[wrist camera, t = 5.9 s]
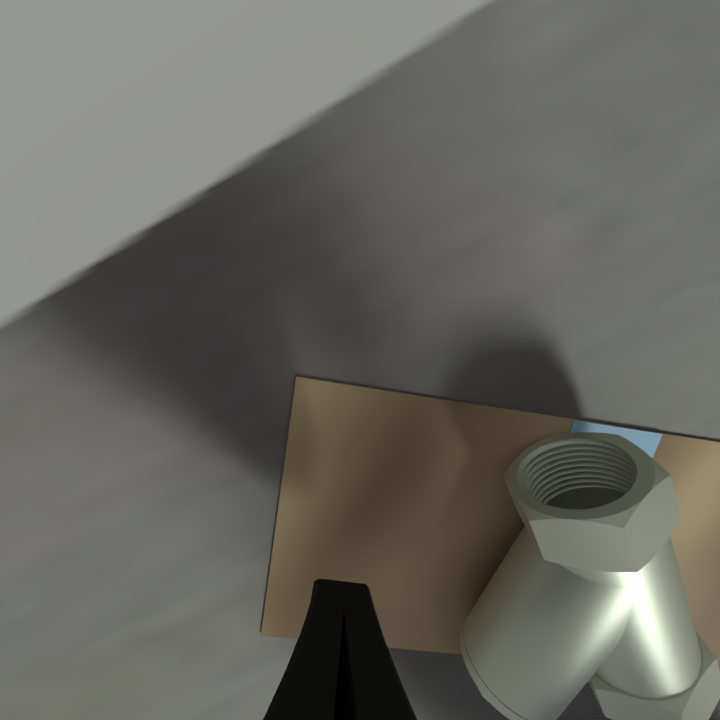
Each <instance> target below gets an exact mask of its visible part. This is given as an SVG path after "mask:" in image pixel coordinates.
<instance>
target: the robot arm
mask: <svg viewBox="0 0 720 720" xmlns="http://www.w3.org/2000/svg"><path fill="white" fill-rule="evenodd" d="M263 720H417V718H416V716H415V714H414V712H413V709H412V707H411V705H410V703H409V700H408V698H407V695H406V693H405V691H404V688H403V686H402V683H401V681H400V678H399V676H398V673H397V671H396V668H395V666H394V663H393V660H392V658H391V655H390V653H389V650H388V647H387V644H386V642H385V639H384V636H383V633H382V630H381V627H380V624H379V621H378V618H377V614H376V611H375V608H374V604H373V601H372V597H371V593H370V589H369V587H368V586H367V585H366V584H362V583H354V582H345V581H337V580H328V579H317V580H316V581H314V584H313V590H312V595H311V601H310V605H309V608H308V612H307V615H306V618H305V621H304V624H303V627H302V630H301V633H300V636H299V638H298V641H297V643H296V646H295V648H294V651H293V653H292V656H291V659H290V661H289V664H288V666H287V668H286V671H285V673H284V675H283V678H282V680H281V682H280V684H279V686H278V689H277V691H276V693H275V695H274V697H273V700H272V702H271V704H270V706H269V708H268V711H267V713H266V715H265V717H264V719H263Z"/></svg>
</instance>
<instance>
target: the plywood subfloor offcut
mask: <svg viewBox="0 0 720 720" xmlns="http://www.w3.org/2000/svg"><path fill="white" fill-rule="evenodd" d="M576 432H598V433H609V434H618V435H620V436H622V437H624V438H626V439H627V440H629V441H631V442H632V443H633V444H635V445H636V446H638V447H639V448H641V449H642V450H643V451H644V452H646V453H647V454H648V455H649V456H650V457H652V458H653V459H654V460H655V461H656V462H657V463H658V464H659V465H660V466H661V467H663V468H664V469H665V470H666V471H667V472H668V473H669V474H670V475H671V479H672V483H673V487H674V491H675V495H676V499H677V503H678V507H679V511H680V515H681V519H680V520H679V522H678V524H677V526H676V527H675V529H674V531H673V533H672V534H671V536H670V538H671V541H672V545H673V549H674V552H675V556H676V560H677V563H678V567H679V571H680V575H681V578H682V582H683V586H684V589H685V593H686V597H687V601H688V605H689V609H690V612H691V616H692V620H693V624H694V628H695V631H696V632H697V633H698V635H699V636H700V637H701V638H702V640H703V641H704V642H705V644H706V645H707V646H708V648H709V649H710V650H711V652H712V653H713V654H714V655H715V657H716V658H717V662H718V666H719V670H720V441H714V440H707V439H701V438H695V437H688V436H682V435H675V434H669V433H662V432H656V431H649V430H643V429H636V428H630V427H623V426H617V425H610V424H604V423H598V422H591V421H585V420H578V419H572V418H565V417H559V416H552V415H546V414H539V413H533V412H526V411H520V410H513V409H507V408H501V407H494V406H488V405H481V404H475V403H468V402H462V401H455V400H449V399H442V398H436V397H429V396H423V395H416V394H410V393H404V392H397V391H391V390H384V389H378V388H371V387H365V386H358V385H352V384H345V383H339V382H332V381H326V380H320V379H313V378H307V377H300V376H296V381H295V389H294V396H293V403H292V411H291V418H290V425H289V433H288V440H287V447H286V454H285V462H284V469H283V476H282V484H281V491H280V498H279V505H278V513H277V520H276V527H275V535H274V542H273V549H272V556H271V564H270V571H269V578H268V586H267V593H266V600H265V608H264V615H263V622H262V629H261V635H264V636H275V637H285V638H295V639H298V638H299V636H300V633H301V630H302V627H303V624H304V621H305V618H306V615H307V612H308V608H309V605H310V601H311V595H312V590H313V584H314V581H316V580H317V579H328V580H337V581H345V582H354V583H362V584H366V585H367V586H368V587H369V589H370V593H371V597H372V601H373V604H374V608H375V611H376V614H377V618H378V621H379V624H380V627H381V630H382V633H383V636H384V639H385V642H386V644H387V647H388V648H397V649H407V650H417V651H428V652H438V653H448V654H458V655H462V653H461V648H460V630H461V627H462V624H463V623H464V621H465V619H466V618H467V616H468V615H469V613H470V612H471V610H472V608H473V607H474V605H475V604H476V602H477V600H478V599H479V597H480V596H481V594H482V592H483V591H484V589H485V588H486V586H487V584H488V583H489V581H490V580H491V578H492V576H493V575H494V573H495V572H496V570H497V568H498V567H499V565H500V564H501V562H502V560H503V559H504V557H505V556H506V554H507V553H508V551H509V549H510V548H511V546H512V545H513V543H514V542H515V540H516V538H517V537H518V535H519V534H520V532H521V530H522V529H523V527H524V526H525V525H524V523H523V521H522V519H521V517H520V515H519V513H518V511H517V509H516V507H515V505H514V502H513V500H512V497H511V494H510V492H509V489H508V487H507V484H506V482H505V479H504V477H503V473H504V472H505V471H506V470H507V468H508V467H509V466H510V464H511V463H512V462H513V461H514V460H515V459H516V458H517V457H518V456H519V455H520V454H521V453H522V452H523V451H524V450H526V449H527V448H528V447H530V446H531V445H533V444H534V443H536V442H538V441H540V440H542V439H544V438H547V437H551V436H555V435H560V434H567V433H576Z"/></svg>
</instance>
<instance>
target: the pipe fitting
mask: <svg viewBox="0 0 720 720" xmlns="http://www.w3.org/2000/svg"><path fill="white" fill-rule="evenodd" d="M503 477H504V479H505V482H506V484H507V487H508V489H509V492H510V494H511V497H512V500H513V502H514V505H515V507H516V509H517V511H518V513H519V515H520V517H521V519H522V521H523V523H524V525H525V526H524V527H523V529H522V530H521V532H520V534H519V535H518V537H517V538H516V540H515V542H514V543H513V545H512V546H511V548H510V549H509V551H508V553H507V554H506V556H505V557H504V559H503V560H502V562H501V564H500V565H499V567H498V568H497V570H496V572H495V573H494V575H493V576H492V578H491V580H490V581H489V583H488V584H487V586H486V588H485V589H484V591H483V592H482V594H481V596H480V597H479V599H478V600H477V602H476V604H475V605H474V607H473V608H472V610H471V612H470V613H469V615H468V616H467V618H466V619H465V621H464V623H463V624H462V627H461V630H460V648H461V653H462V657H463V660H464V663H465V665H466V667H467V670H468V672H469V674H470V676H471V677H472V679H473V681H474V683H475V684H476V686H477V687H478V689H479V691H480V694H481V695H482V696H483V697H484V698H485V699H486V700H487V701H488V702H489V703H490V704H492V705H493V706H494V707H495V708H496V709H497V710H498V711H499V712H500V713H501V714H503V715H504V716H505V717H507V718H508V719H509V720H557V719H558V717H559V716H560V715H561V714H562V712H563V711H564V710H565V709H566V708H567V706H568V705H569V704H570V703H571V702H572V700H573V699H574V698H575V697H576V696H577V694H578V693H579V692H580V691H581V689H582V688H583V687H584V686H585V685H586V683H587V682H588V683H589V685H590V687H591V689H592V691H593V694H594V696H595V698H596V700H597V702H598V703H599V705H600V707H601V709H602V711H603V713H604V715H605V717H607V718H610V719H612V720H709V718H710V716H711V715H712V713H713V711H714V709H715V707H716V705H717V703H718V701H719V699H720V670H719V666H718V662H717V658H716V657H715V655H714V654H713V653H712V652H711V650H710V649H709V648H708V646H707V645H706V644H705V642H704V641H703V640H702V638H701V637H700V636H699V635H698V633H697V632H696V631H695V628H694V624H693V620H692V616H691V612H690V609H689V605H688V601H687V597H686V593H685V589H684V586H683V582H682V578H681V575H680V571H679V567H678V563H677V560H676V556H675V552H674V549H673V545H672V541H671V538H670V536H671V534H672V533H673V531H674V529H675V527H676V526H677V524H678V522H679V520H680V519H681V515H680V511H679V507H678V503H677V499H676V495H675V491H674V487H673V483H672V479H671V475H670V474H669V473H668V472H667V471H666V470H665V469H664V468H663V467H661V466H660V465H659V464H658V463H657V462H656V461H655V460H654V459H653V458H652V457H650V456H649V455H648V454H647V453H646V452H644V451H643V450H642V449H641V448H639V447H638V446H636V445H635V444H633V443H632V442H631V441H629V440H627V439H626V438H624V437H622V436H620V435H618V434H609V433H598V432H576V433H567V434H560V435H555V436H551V437H547V438H544V439H542V440H540V441H538V442H536V443H534V444H533V445H531V446H530V447H528V448H527V449H526V450H524V451H523V452H522V453H521V454H520V455H519V456H518V457H517V458H516V459H515V460H514V461H513V462H512V463H511V464H510V466H509V467H508V468H507V470H506V471H505V472H504V473H503Z"/></svg>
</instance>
